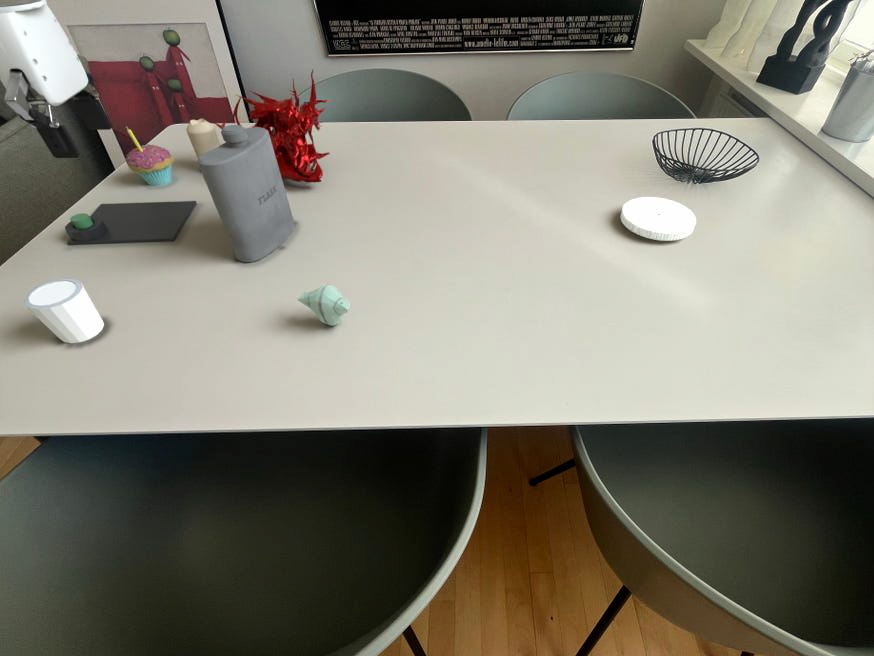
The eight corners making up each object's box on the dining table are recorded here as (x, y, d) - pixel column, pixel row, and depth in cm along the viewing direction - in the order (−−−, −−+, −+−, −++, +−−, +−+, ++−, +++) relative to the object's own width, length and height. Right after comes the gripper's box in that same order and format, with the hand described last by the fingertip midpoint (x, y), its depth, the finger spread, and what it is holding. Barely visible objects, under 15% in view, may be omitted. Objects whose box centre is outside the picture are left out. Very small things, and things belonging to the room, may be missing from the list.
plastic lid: (664, 204, 101) (667, 192, 99) (707, 238, 92) (711, 226, 90) (606, 214, 98) (608, 202, 96) (644, 250, 89) (648, 238, 87)
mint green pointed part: (302, 327, 72) (290, 291, 67) (315, 310, 75) (305, 274, 70) (351, 337, 71) (343, 301, 66) (363, 319, 74) (355, 284, 69)
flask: (260, 266, 83) (217, 149, 68) (230, 260, 84) (182, 144, 69) (303, 223, 93) (274, 113, 78) (276, 218, 94) (242, 109, 79)
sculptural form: (307, 152, 90) (363, 82, 99) (185, 95, 90) (253, 30, 99) (320, 220, 109) (367, 156, 118) (220, 174, 109) (274, 112, 118)
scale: (66, 245, 86) (58, 233, 84) (101, 207, 96) (94, 195, 94) (174, 241, 87) (168, 229, 86) (197, 204, 97) (192, 192, 95)
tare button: (72, 230, 86) (66, 221, 84) (80, 222, 87) (74, 213, 86) (89, 229, 86) (83, 220, 85) (96, 221, 88) (91, 212, 86)
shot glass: (117, 314, 73) (91, 277, 68) (93, 346, 69) (64, 308, 64) (71, 315, 73) (42, 277, 68) (44, 346, 68) (10, 308, 63)
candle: (196, 170, 107) (177, 124, 100) (211, 160, 111) (194, 114, 104) (218, 173, 106) (200, 127, 99) (233, 163, 110) (216, 117, 103)
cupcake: (170, 190, 101) (142, 131, 92) (129, 189, 101) (98, 130, 92) (187, 171, 107) (162, 114, 98) (148, 171, 107) (120, 114, 98)
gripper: (9, -22, 61) (86, 120, 73) (-89, 6, 49) (22, 170, 61) (72, -22, 62) (138, 119, 74) (-10, 7, 50) (84, 169, 62)
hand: (85, 142), depth 68 cm, fingers open, 9 cm apart
